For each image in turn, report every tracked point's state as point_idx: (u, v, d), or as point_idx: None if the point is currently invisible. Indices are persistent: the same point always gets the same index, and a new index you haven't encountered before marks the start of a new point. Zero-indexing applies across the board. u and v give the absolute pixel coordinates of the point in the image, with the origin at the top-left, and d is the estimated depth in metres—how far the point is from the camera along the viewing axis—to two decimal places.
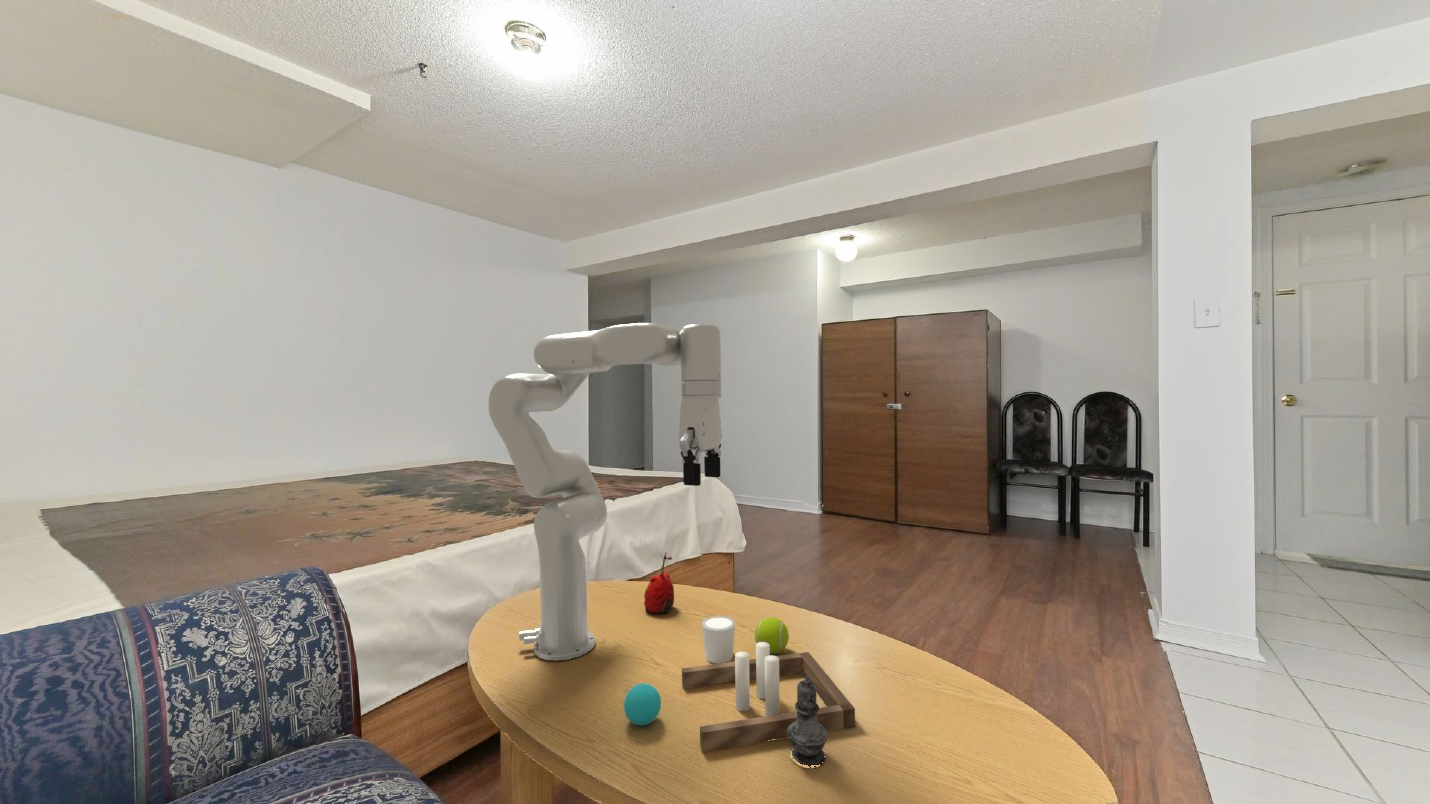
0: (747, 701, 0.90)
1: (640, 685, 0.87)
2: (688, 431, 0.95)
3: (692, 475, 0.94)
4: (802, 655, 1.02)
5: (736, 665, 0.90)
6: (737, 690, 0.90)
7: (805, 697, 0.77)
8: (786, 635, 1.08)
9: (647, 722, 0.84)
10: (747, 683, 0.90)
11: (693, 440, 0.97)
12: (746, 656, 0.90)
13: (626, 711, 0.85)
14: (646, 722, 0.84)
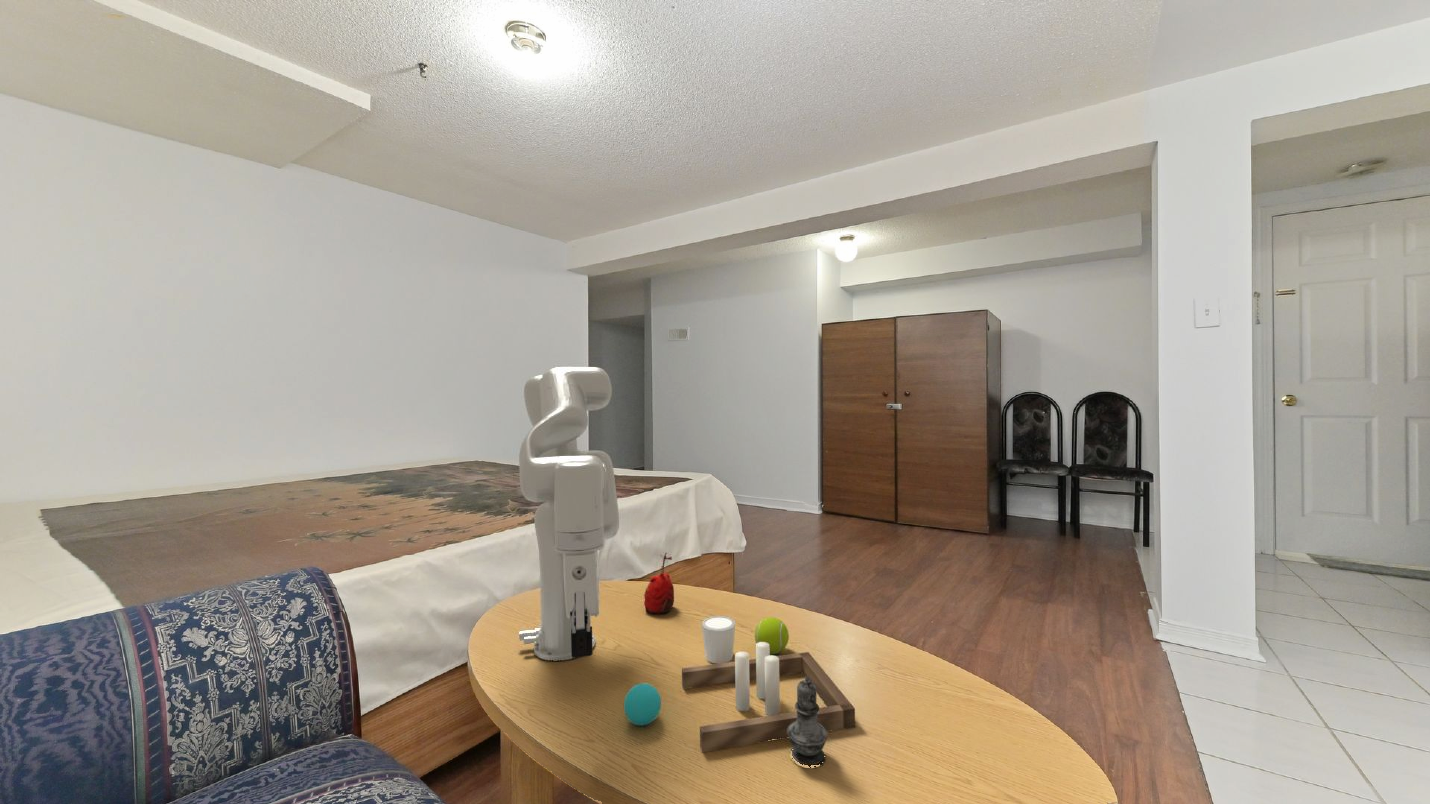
0: (747, 701, 0.90)
1: (640, 685, 0.87)
2: None
3: None
4: (802, 655, 1.02)
5: (736, 665, 0.90)
6: (737, 690, 0.90)
7: (805, 697, 0.77)
8: (786, 635, 1.08)
9: (647, 722, 0.84)
10: (747, 683, 0.90)
11: None
12: (746, 656, 0.90)
13: (626, 711, 0.85)
14: (646, 722, 0.84)
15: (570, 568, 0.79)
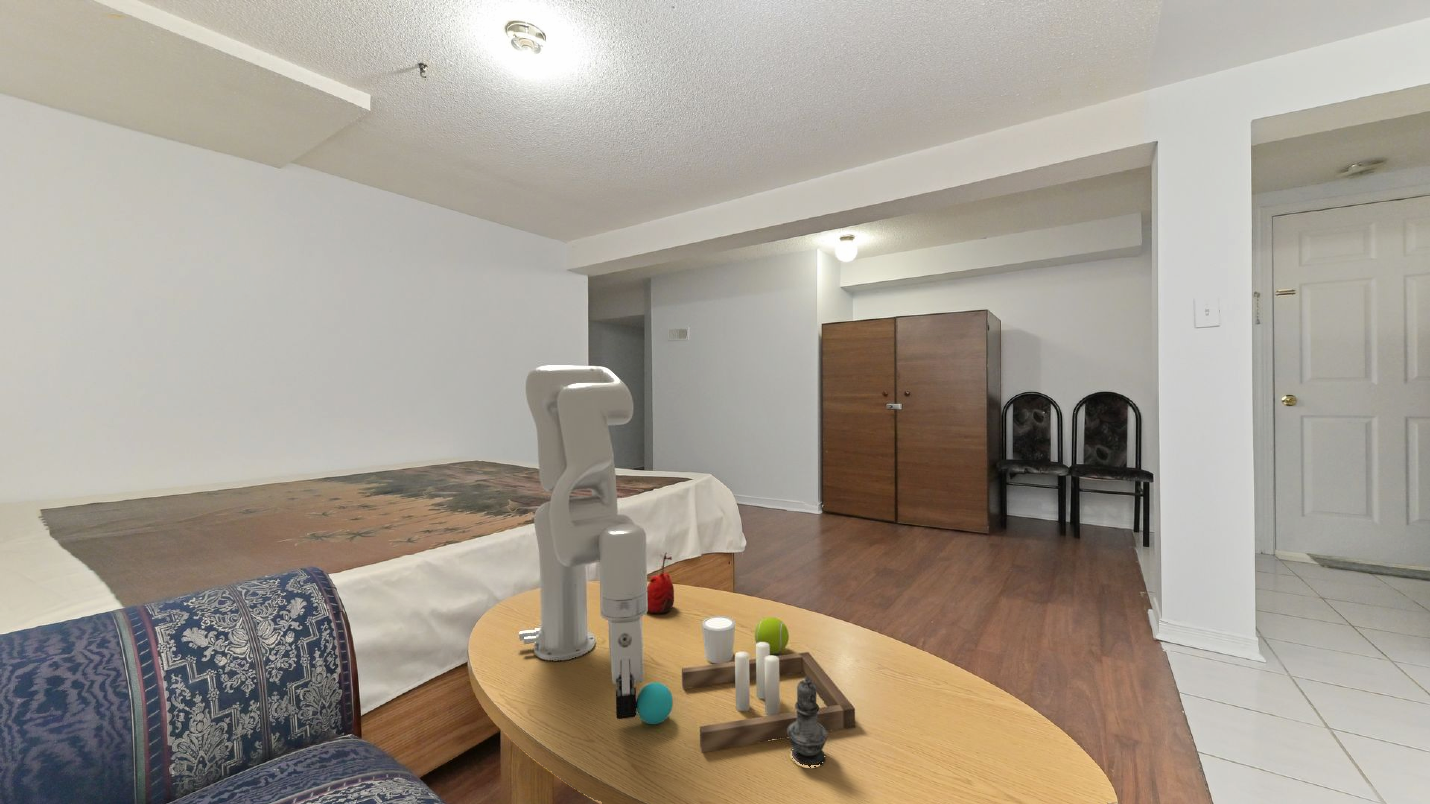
0: (747, 701, 0.90)
1: (659, 684, 0.87)
2: None
3: None
4: (802, 655, 1.02)
5: (736, 665, 0.90)
6: (737, 690, 0.90)
7: (805, 697, 0.77)
8: (786, 635, 1.08)
9: (655, 722, 0.85)
10: (747, 683, 0.90)
11: None
12: (746, 656, 0.90)
13: (639, 704, 0.85)
14: (654, 722, 0.85)
15: (616, 635, 0.81)
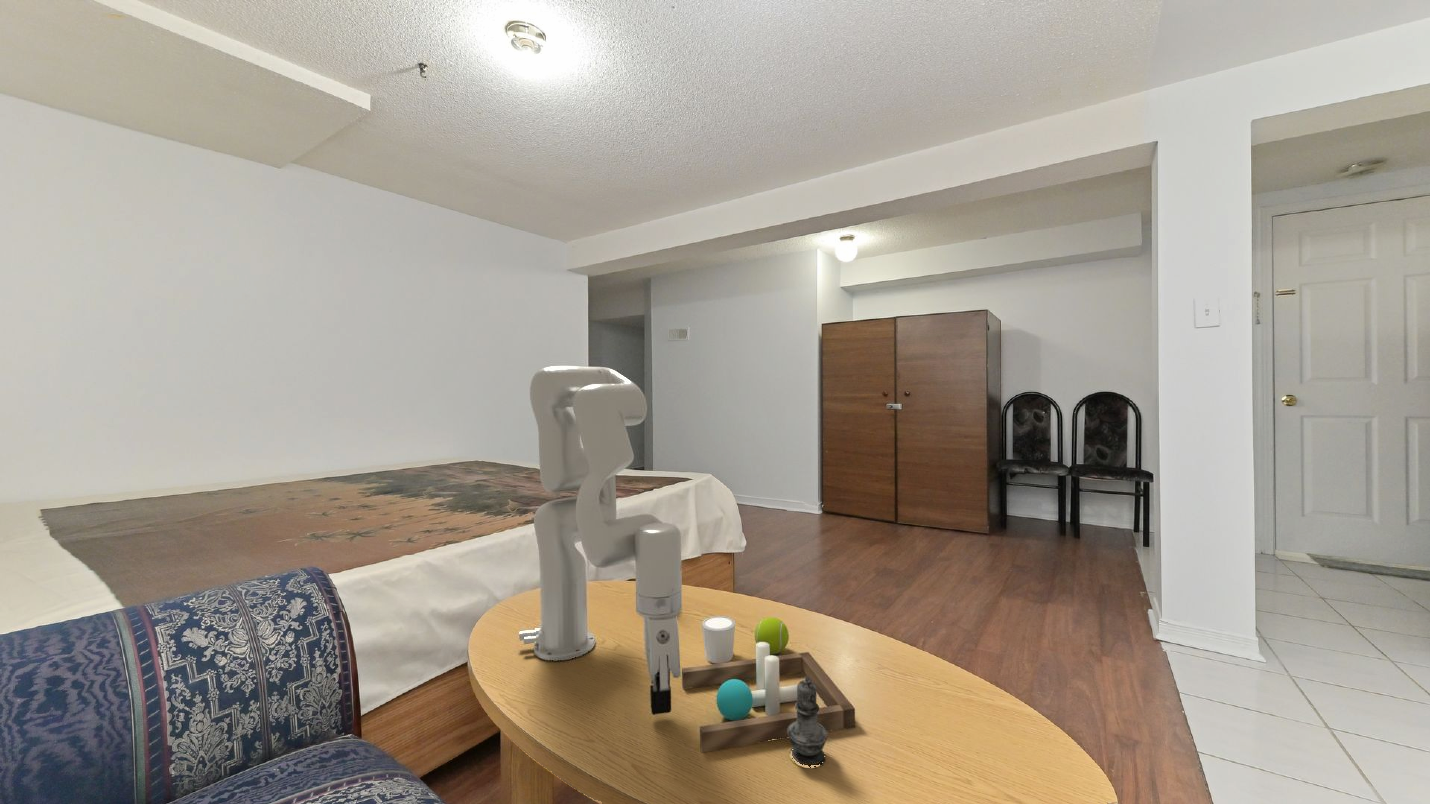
0: (760, 704, 0.90)
1: None
2: None
3: None
4: (802, 655, 1.02)
5: (792, 687, 0.92)
6: None
7: (805, 697, 0.77)
8: (786, 635, 1.08)
9: (746, 709, 0.85)
10: None
11: None
12: None
13: None
14: (745, 710, 0.85)
15: (654, 632, 0.82)
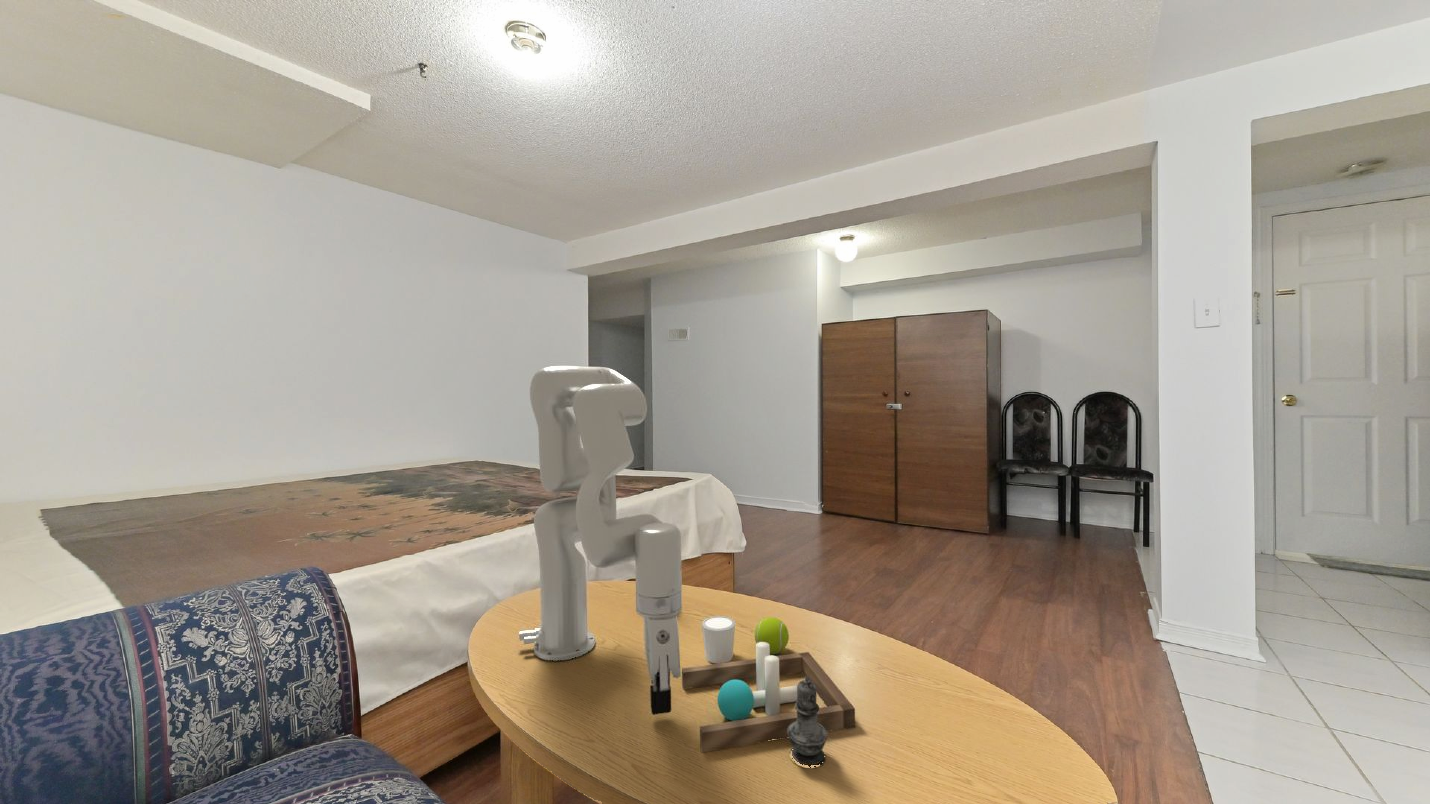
0: (761, 705, 0.90)
1: None
2: None
3: None
4: (802, 655, 1.02)
5: (793, 689, 0.92)
6: None
7: (805, 697, 0.77)
8: (786, 635, 1.08)
9: (747, 711, 0.85)
10: None
11: None
12: None
13: None
14: (746, 712, 0.85)
15: (654, 632, 0.82)
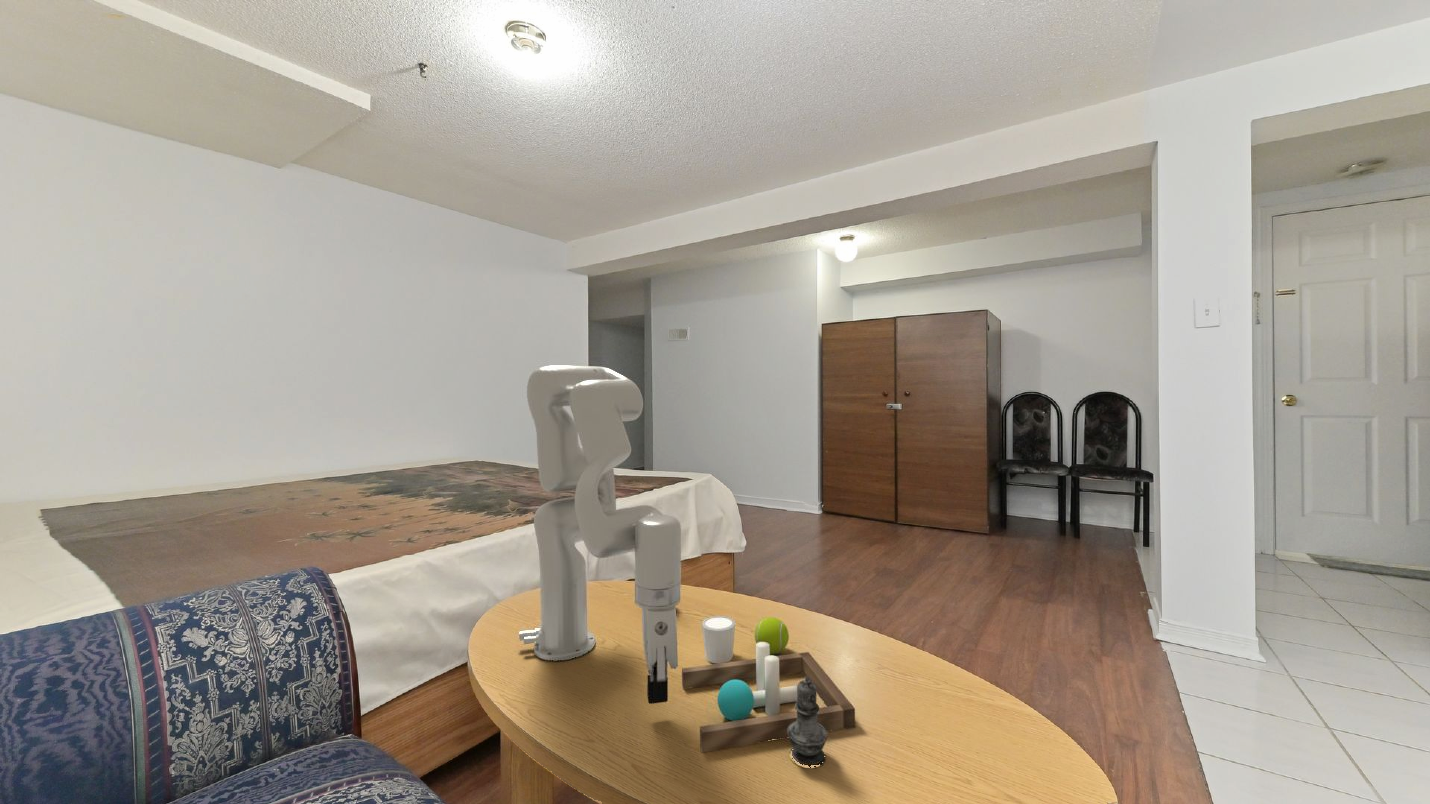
0: (761, 705, 0.90)
1: None
2: None
3: None
4: (802, 655, 1.02)
5: (793, 689, 0.92)
6: None
7: (805, 697, 0.77)
8: (786, 635, 1.08)
9: (747, 711, 0.85)
10: None
11: None
12: None
13: None
14: (746, 712, 0.85)
15: (653, 624, 0.83)
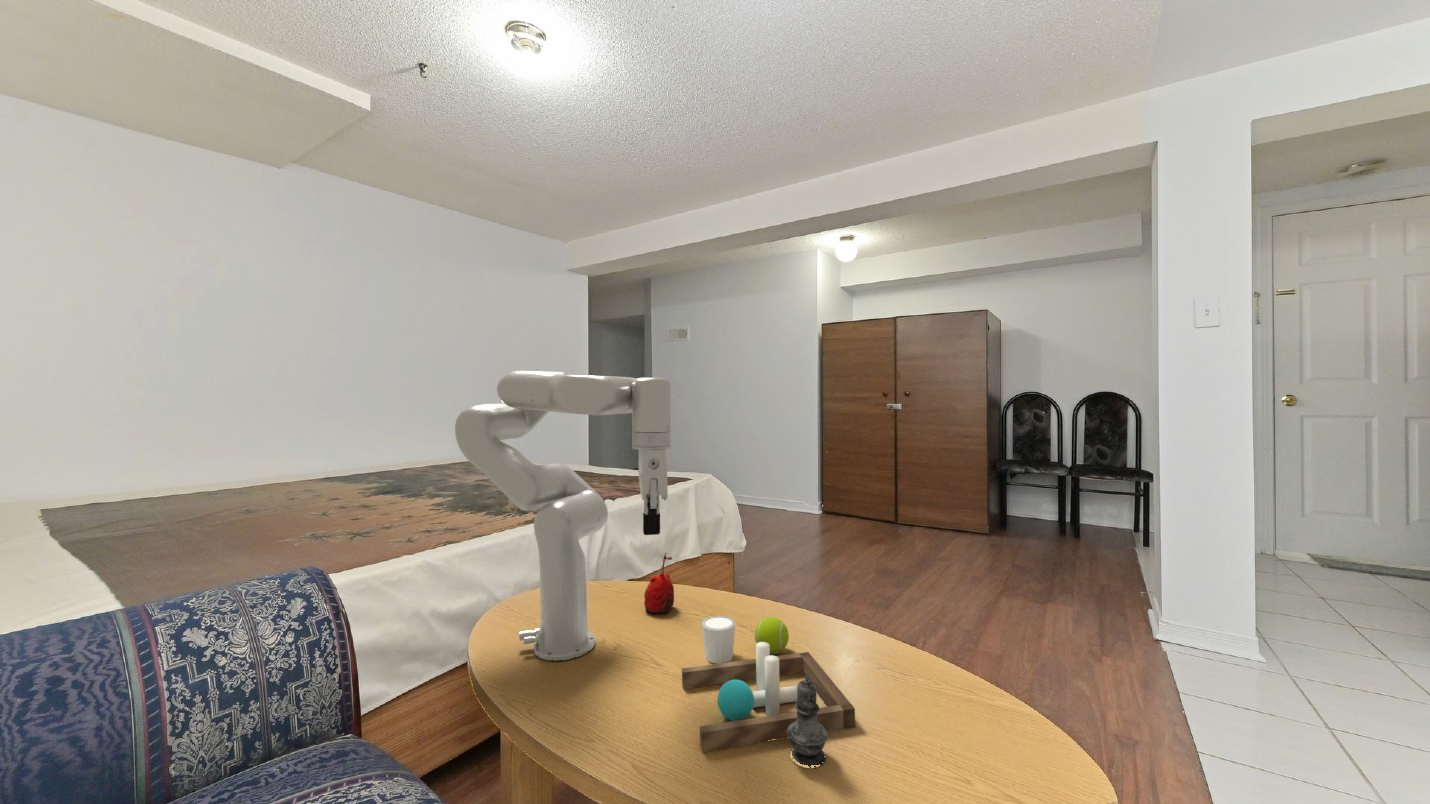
0: (761, 705, 0.90)
1: None
2: None
3: None
4: (802, 655, 1.02)
5: (793, 689, 0.92)
6: None
7: (805, 697, 0.77)
8: (786, 635, 1.08)
9: (747, 711, 0.85)
10: None
11: None
12: None
13: None
14: (746, 712, 0.85)
15: (646, 460, 0.99)
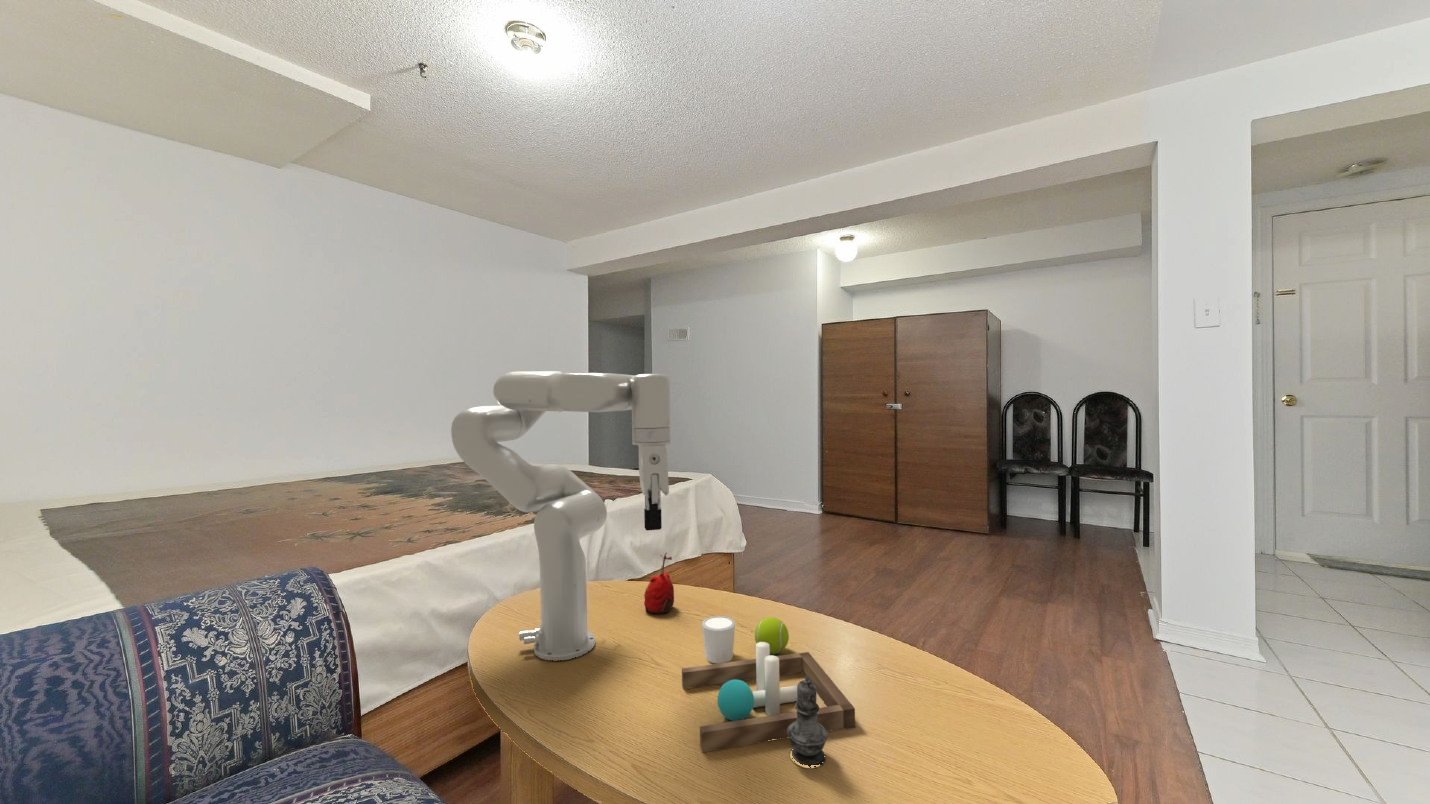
0: (760, 705, 0.90)
1: None
2: None
3: None
4: (802, 655, 1.02)
5: (793, 689, 0.92)
6: None
7: (805, 697, 0.77)
8: (786, 635, 1.08)
9: (747, 711, 0.85)
10: None
11: None
12: None
13: None
14: (746, 712, 0.85)
15: (647, 455, 1.00)
